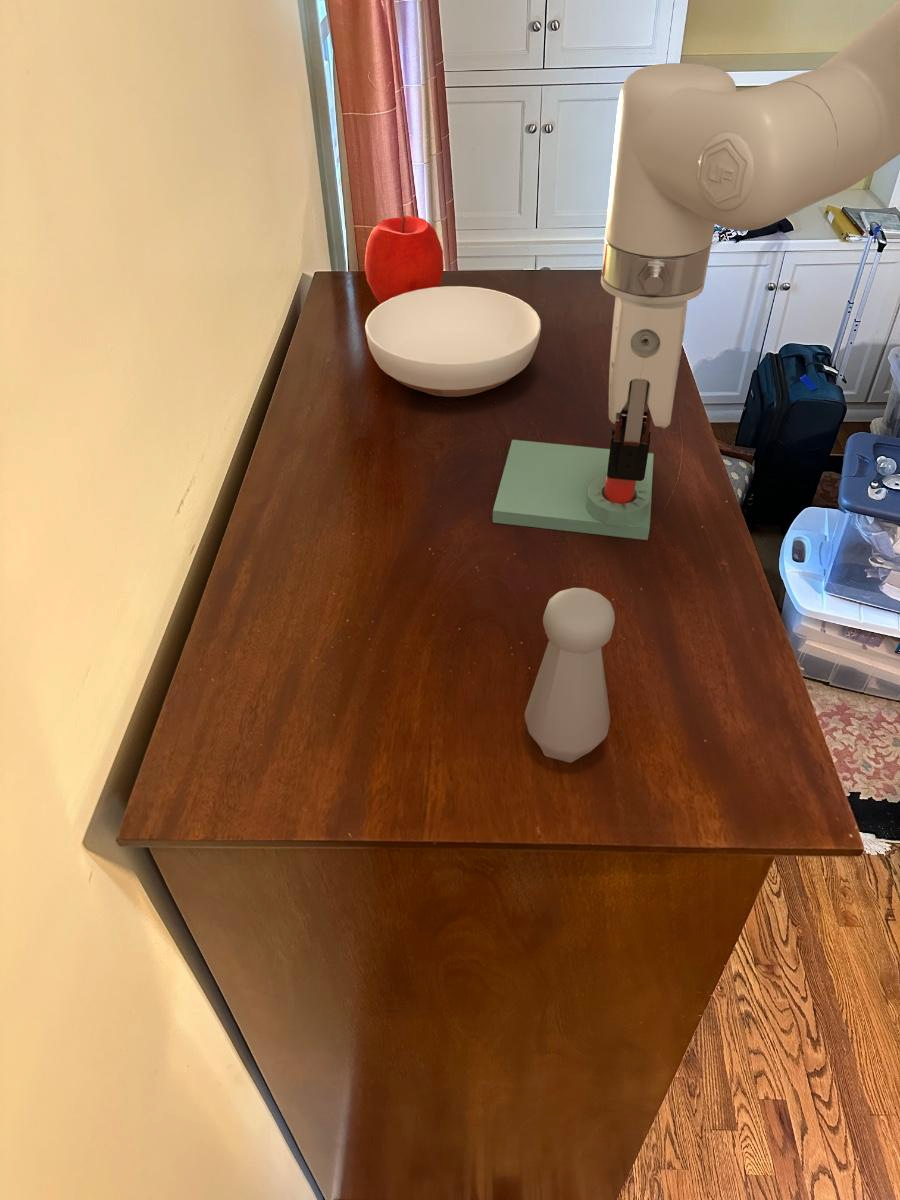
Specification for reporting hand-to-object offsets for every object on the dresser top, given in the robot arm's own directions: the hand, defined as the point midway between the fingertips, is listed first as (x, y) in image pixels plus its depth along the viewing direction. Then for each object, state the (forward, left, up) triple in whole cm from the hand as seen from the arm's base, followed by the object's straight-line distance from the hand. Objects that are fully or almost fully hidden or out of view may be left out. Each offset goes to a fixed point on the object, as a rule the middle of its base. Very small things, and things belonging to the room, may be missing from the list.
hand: (625, 474), depth 75 cm
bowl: (+20, -25, -5) cm, 32 cm away
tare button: (0, 0, -2) cm, 3 cm away
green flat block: (+4, -4, -5) cm, 8 cm away
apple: (+29, -39, -5) cm, 49 cm away
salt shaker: (+2, +26, -5) cm, 26 cm away
